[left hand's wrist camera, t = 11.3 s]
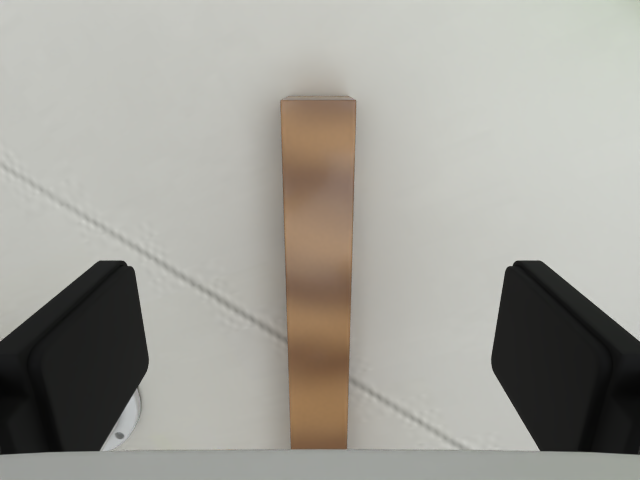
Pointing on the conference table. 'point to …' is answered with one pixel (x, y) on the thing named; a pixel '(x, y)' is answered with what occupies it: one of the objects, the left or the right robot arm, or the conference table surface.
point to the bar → (318, 263)
